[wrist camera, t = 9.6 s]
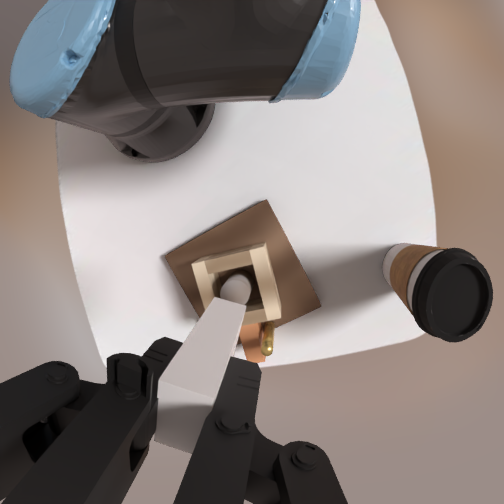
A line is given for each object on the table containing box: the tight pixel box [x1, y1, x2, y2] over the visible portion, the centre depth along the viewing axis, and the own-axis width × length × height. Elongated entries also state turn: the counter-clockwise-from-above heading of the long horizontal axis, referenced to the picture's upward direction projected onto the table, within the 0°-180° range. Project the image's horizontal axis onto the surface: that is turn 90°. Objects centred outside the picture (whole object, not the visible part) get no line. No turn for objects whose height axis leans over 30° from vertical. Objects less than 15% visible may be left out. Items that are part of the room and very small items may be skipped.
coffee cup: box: [382, 243, 493, 342], centre depth 27 cm, size 8×8×15 cm
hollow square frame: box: [191, 242, 281, 363], centre depth 34 cm, size 13×8×4 cm, turn 14°
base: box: [165, 200, 321, 344], centre depth 33 cm, size 14×14×6 cm
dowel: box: [261, 321, 275, 356], centre depth 33 cm, size 1×1×7 cm
